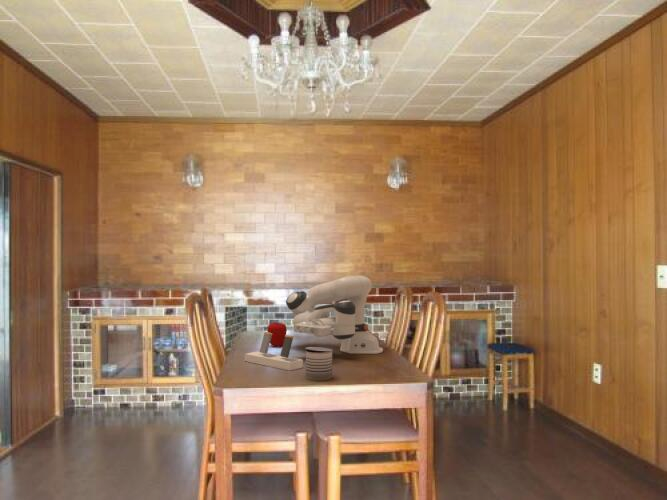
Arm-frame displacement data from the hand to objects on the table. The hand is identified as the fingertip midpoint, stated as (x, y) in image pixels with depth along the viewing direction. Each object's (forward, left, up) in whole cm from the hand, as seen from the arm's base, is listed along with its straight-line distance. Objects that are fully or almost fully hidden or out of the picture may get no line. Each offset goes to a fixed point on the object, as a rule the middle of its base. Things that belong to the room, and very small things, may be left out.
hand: (300, 331), depth 246 cm
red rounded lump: (+24, -38, -15) cm, 47 cm away
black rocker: (+5, +10, -11) cm, 16 cm away
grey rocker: (+17, +4, -11) cm, 21 cm away
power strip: (+11, +7, -15) cm, 20 cm away
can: (-15, +25, -15) cm, 33 cm away
